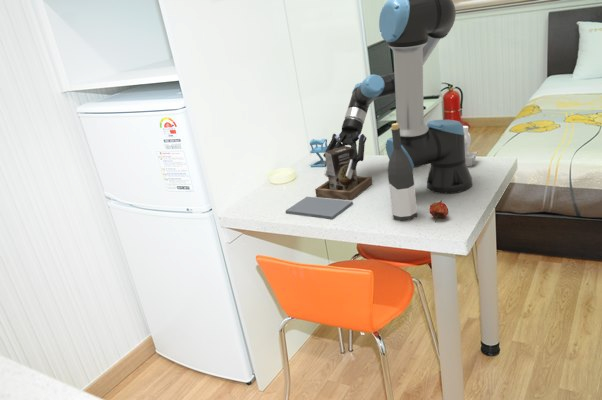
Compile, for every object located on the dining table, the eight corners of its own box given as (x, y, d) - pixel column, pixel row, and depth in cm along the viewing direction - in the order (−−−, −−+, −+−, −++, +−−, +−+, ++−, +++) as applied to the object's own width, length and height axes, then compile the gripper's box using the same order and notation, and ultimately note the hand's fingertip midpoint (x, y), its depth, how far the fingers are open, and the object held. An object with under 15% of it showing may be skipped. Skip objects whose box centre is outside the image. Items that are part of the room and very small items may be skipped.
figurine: (478, 160, 197) (476, 122, 192) (473, 168, 190) (471, 129, 185) (459, 160, 201) (457, 123, 196) (453, 168, 194) (450, 130, 189)
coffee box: (338, 196, 187) (332, 154, 182) (329, 192, 193) (323, 151, 187) (359, 188, 191) (353, 147, 185) (350, 185, 196) (344, 144, 191)
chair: (333, 160, 229) (329, 134, 225) (326, 167, 222) (322, 140, 218) (317, 161, 233) (313, 135, 228) (310, 167, 226) (306, 141, 221)
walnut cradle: (372, 184, 193) (371, 177, 192) (351, 200, 182) (350, 192, 181) (338, 181, 202) (337, 174, 201) (316, 196, 191) (315, 189, 190)
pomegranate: (447, 227, 153) (455, 205, 156) (438, 218, 150) (446, 196, 152) (430, 225, 158) (439, 204, 160) (422, 216, 154) (430, 195, 157)
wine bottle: (422, 216, 159) (413, 123, 148) (399, 223, 157) (388, 129, 147) (410, 208, 166) (401, 118, 156) (387, 215, 165) (376, 124, 154)
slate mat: (353, 204, 178) (352, 201, 178) (332, 219, 169) (332, 216, 169) (307, 199, 191) (306, 196, 190) (286, 213, 181) (285, 210, 181)
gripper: (383, 127, 189) (367, 182, 184) (334, 126, 202) (318, 178, 197) (374, 117, 184) (357, 174, 178) (325, 117, 197) (308, 170, 191)
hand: (337, 176), depth 187 cm, fingers closed on coffee box, 9 cm apart
